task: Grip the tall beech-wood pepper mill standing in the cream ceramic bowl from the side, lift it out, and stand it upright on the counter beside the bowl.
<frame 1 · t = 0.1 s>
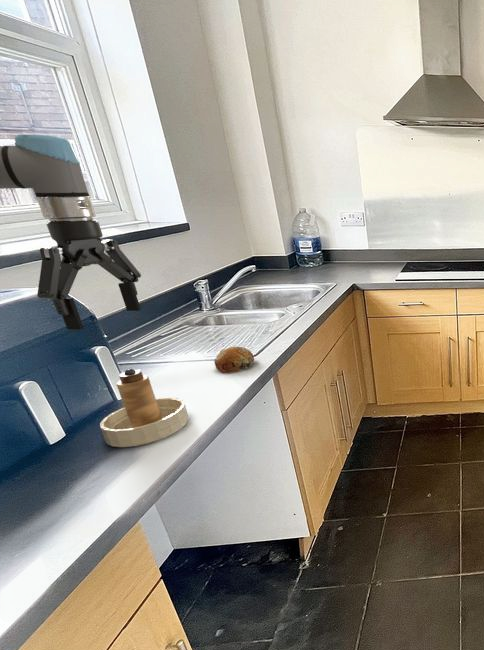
hand: (107, 319, 91), 24 cm above the table, tool pointing down, fingers open, 13 cm apart
bowl: (150, 430, 93), on the table
pepper mill: (149, 428, 93), point 1 cm above the table, touching bowl
bread roll: (236, 367, 126), on the table
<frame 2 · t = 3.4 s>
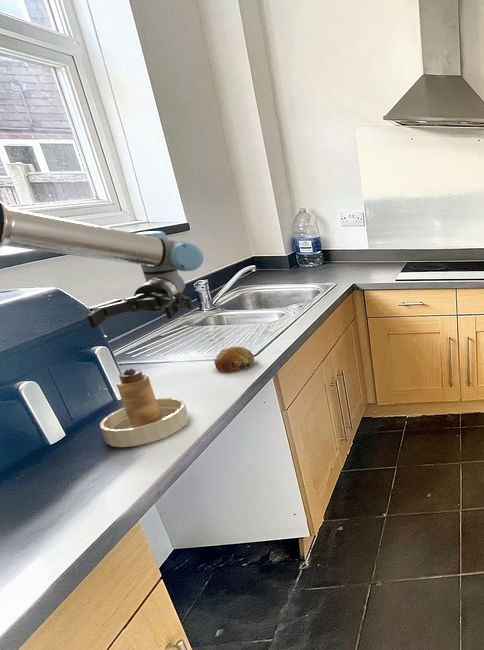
hand: (130, 317, 94), 24 cm above the table, tool horizontal, fingers open, 13 cm apart
nothing on the table moved.
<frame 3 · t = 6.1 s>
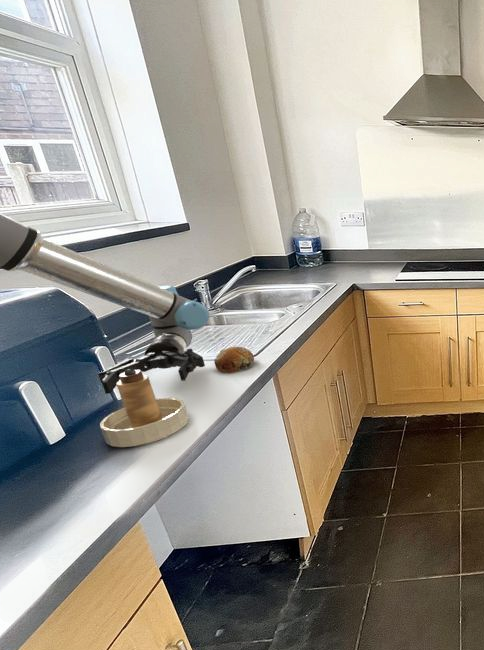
hand: (145, 381, 95), 9 cm above the table, tool horizontal, fingers open, 13 cm apart
nothing on the table moved.
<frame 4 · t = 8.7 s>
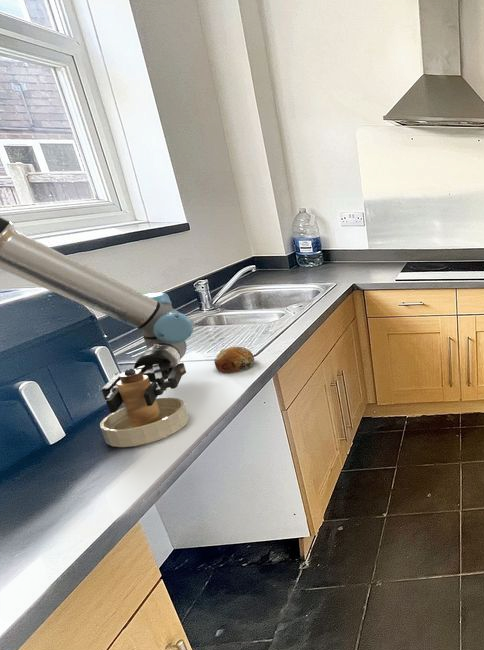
hand: (129, 403, 85), 10 cm above the table, tool horizontal, fingers closed on pepper mill, 5 cm apart
pepper mill: (149, 428, 93), point 1 cm above the table, touching bowl, gripper
everything else where it was.
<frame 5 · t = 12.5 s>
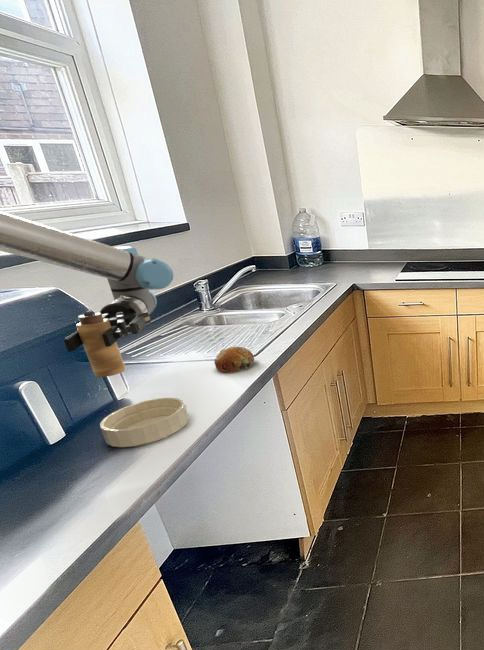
hand: (87, 342, 86), 21 cm above the table, tool horizontal, fingers closed on pepper mill, 5 cm apart
pepper mill: (110, 372, 94), point 12 cm above the table, touching gripper
everything else where it was.
when the fingers open (9 cm above the table, at t = 16.4 s): pepper mill stays where it is, on the table.
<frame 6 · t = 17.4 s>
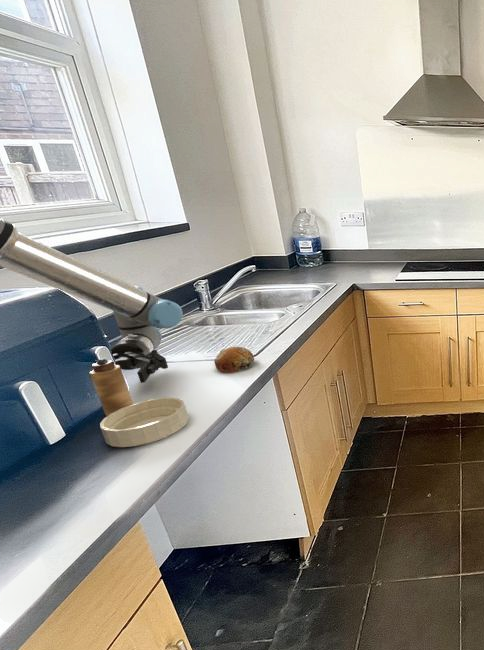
hand: (102, 383, 93), 10 cm above the table, tool horizontal, fingers open, 13 cm apart
pepper mill: (121, 414, 99), on the table
everything else where it was.
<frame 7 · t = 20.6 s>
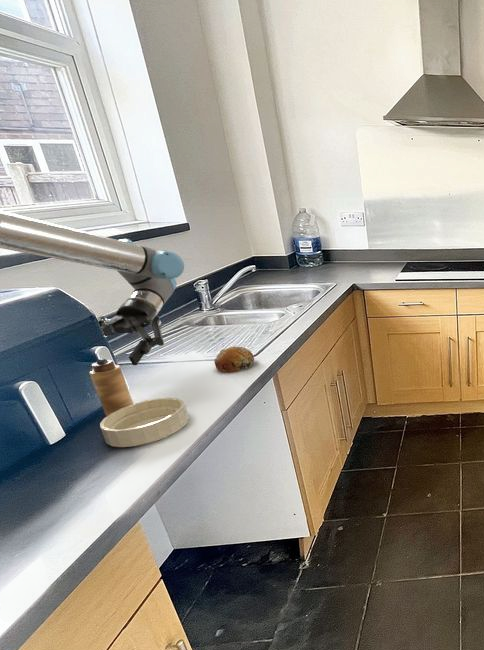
hand: (98, 361, 100), 12 cm above the table, tool tilted 70°, fingers open, 13 cm apart
nothing on the table moved.
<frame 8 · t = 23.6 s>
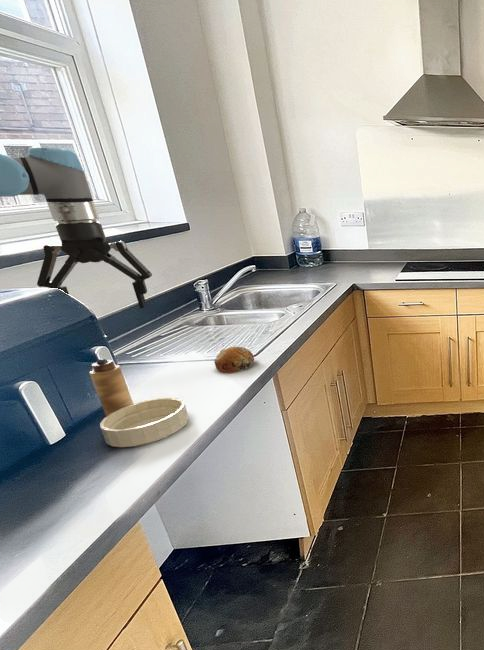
hand: (108, 310, 102), 23 cm above the table, tool pointing down, fingers open, 13 cm apart
nothing on the table moved.
at the end: pepper mill inside the target area (0.0 cm from its centre), on the table; pepper mill tilted 0°; pepper mill touching table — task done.
